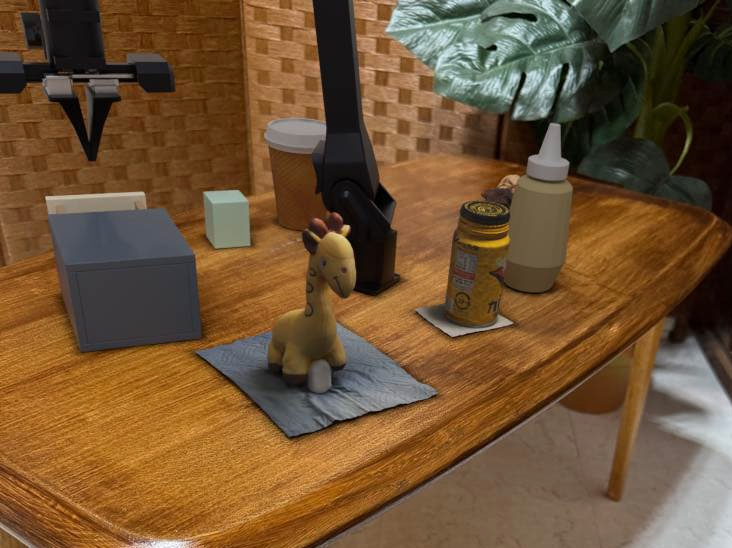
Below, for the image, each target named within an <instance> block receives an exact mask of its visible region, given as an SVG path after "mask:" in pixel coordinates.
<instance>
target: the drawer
mask: <svg viewBox="0 0 732 548" xmlns="http://www.w3.org/2000/svg"><path fill="white" fill-rule="evenodd" d="M44 198H45V204H46V210H47V216H48V215H49V214H67V213H85V212H102V211H120V210H138V209H148V206H147V198H146V194H145V192H144V191H130V192H129V191H128V192H108V193H89V194H88V193H87V194H85V193H84V194H69V195H68V194H67V195H48V196H47V195H46V196H45V197H44Z"/></svg>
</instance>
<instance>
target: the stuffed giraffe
mask: <svg viewBox="0 0 732 548" xmlns="http://www.w3.org/2000/svg"><path fill="white" fill-rule="evenodd" d="M350 230H351V228H350V226H349V225H344V224H343V219H342V217H341V216H340V215H339V214H337V213H330V214H329V216H328V217H327V226H326V223H325V224H324V222H323V221H322V220H320V219H317V218H313V219H311V220H310V221H309V224H308V229H305V230H302V232H301V241H302V244H303V246H304V248H305V250H306V251H307V252H308V253H309V257H308V265H307V270H306V272H305V301H306V304H305V306H304V307H302V308H298V309H293V310H290V311H287V312H285V313H283V314H282V315H281V316H280V318H278V320H277V321H276V322H275V324H274V326H273V328H272V331H268V332H262V333H259V334H257V335H254V336H251V337H244V338H243V339H240V338H239V339H237V340H235V341H234V342H232V343H230V344H219V345H216V346H214V347H210V348H207V349H199V350H194V352H195V353H196V354H197V355H198V356H200V357H201V358H203V359H204V360H206V361H207V362H208V363H209V364H211V365H212V366H213V367H214V368H215V369H217V371H220V372H221V373H222V374H223V375H225V376H226V377H227V378H229V380H231V381H232V382H233V383H235V385H237V386H238V387H239V388H240V389H241V390H242V391H243V392H244V393H245V394H247V395H248V397H250V398H251V400H252V401H253V402H254V403H256V404H257V405H258V406H259V407H260V408H261V409H262V411H264V412H265V413H266V414H267V415H268V416H269V417H270V419H271V421H273V422H274V423H275V424H276V425H277V426H278V427H279V428H280V429H281V430H282V431H283V432H284V434H286V435H287V436H288V438H289V437H294V436H300V435H302V434H307V433H314V432H316V431H318V430H319V431H320V430H321V429H324V428H326V427H329V426H330V425H332V424H333V422H334V421H336V420H337V421H343V420H347V419H353V418H357V417H361V416H363V415H364V414H365V415H366V414H367V413H369V412H378V411H382V410H385V409H388V408H393V407H396V406H398V405H401V404H402V405H404V404H411V403H413V402H418V401H421V400H427V399H430V398H431V397H432V396H435V395H437V394H438V391H437V390H435V388H434V387H432V386H431V385H429V384H426V383H421V382H420V381H417V379H416V378H414V377H412V375H411V374H409V373H407V371H406V370H405V369H404V368H402V367H401V365H400V364H399V363H398V362H396V361H395V360H394V359H392V358H391V357H389V356H388V355H386V354H385V353H383V352H381V351H380V350H379V349H378V348H376V347H375V346H374V345H373V344H372V343H370V342H368V340H366V339H365V338H363V337H362V336H359V335H358V334H357V333H354V332H353V331H351V330H349V329H348V328H346V327H344V326H343V325H341V324H340V323H339V322H337V320H336V316H335V313H334V311H335V309H334V306H333V303H332V299H331V294H330V291H329V288H330V290H332V292H333V293H335V294H336V295H337V296H338V297H339V298H340V299H348V298H349V297H350V296H351V294H352V293H353V291H354V290H355V289H354V287H355V282H356V268H355V259H354V254H353V249H352V247H351V244H350V243H349V241H348V240H347V239H346V237H347V236H348V235H349V233H350Z"/></svg>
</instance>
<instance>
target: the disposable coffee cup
mask: <svg viewBox="0 0 732 548" xmlns="http://www.w3.org/2000/svg"><path fill="white" fill-rule="evenodd" d="M266 126H267V127H266V131H265V132H264V134H263V138H264V140H265V141H266V145H267V147H268V153H269V161H270V163H269V164H270V170H271V179H272V183H273V184H272V185H273V191H274V199H275V206H276V208H275V209H276V214H277V223H278V224H279V225H280V226H282V227H284V228H287V229H290V230H295V231H303V230H305V229H308V224H309V221H310V220H311V219H313V218H317V219H320V220H322V221H323V222H324V224H325V225H326V219H327V212H328V211H327V210H326V208H325V206H324V205H323V201H322V197H321V192H320V193H319V194H317V195H316V194H315V189H316V185H317V178H316V173H315V170H314V166H313V162H312V157H311V154H312V152H313V150H314V149H315V147H316V145H317V144H318V142H319V141H320V140H325V138H326V121H324V120H320V119H319V120H318V119H315V118H305V117H283V118H277V119H273V120H271V121H269V122H268V123H267V125H266Z"/></svg>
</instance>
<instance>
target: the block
mask: <svg viewBox="0 0 732 548" xmlns="http://www.w3.org/2000/svg"><path fill="white" fill-rule="evenodd" d="M202 197H203V208H204V209H203V211H204V224H205V236H206V238H207V239H208V241H209V242H210V243H211V245H212V247H213V248H214V249H216V250H217V249H231V248H243V247H251V224H250V223H251V222H250V202H249V200H248V198H247V197H246V196H245V195H244V194H243V193H242V192H241V191H240V190H239V189H231V190H230V189H228V190H211V191H210V190H209V191H203V192H202Z"/></svg>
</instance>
